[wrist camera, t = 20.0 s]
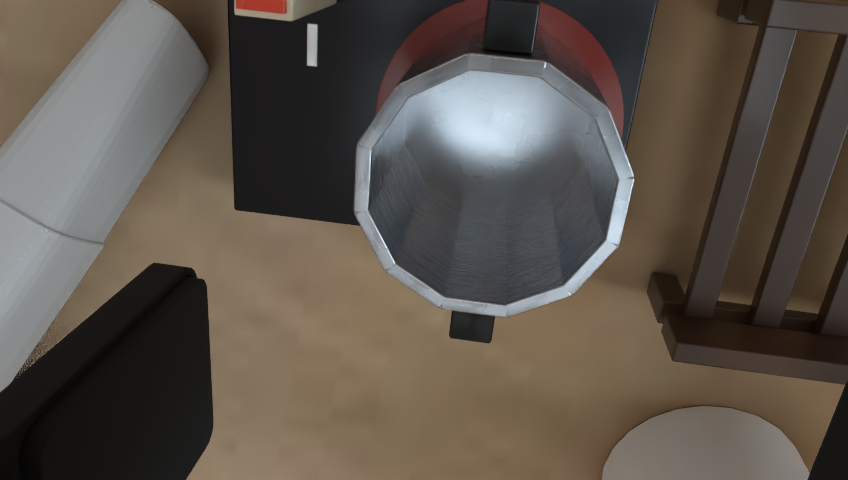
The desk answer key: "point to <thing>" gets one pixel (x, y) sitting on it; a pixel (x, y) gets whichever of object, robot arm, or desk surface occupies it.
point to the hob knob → (279, 8)
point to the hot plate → (476, 9)
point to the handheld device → (85, 162)
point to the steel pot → (493, 172)
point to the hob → (356, 92)
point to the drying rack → (766, 317)
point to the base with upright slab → (705, 448)
